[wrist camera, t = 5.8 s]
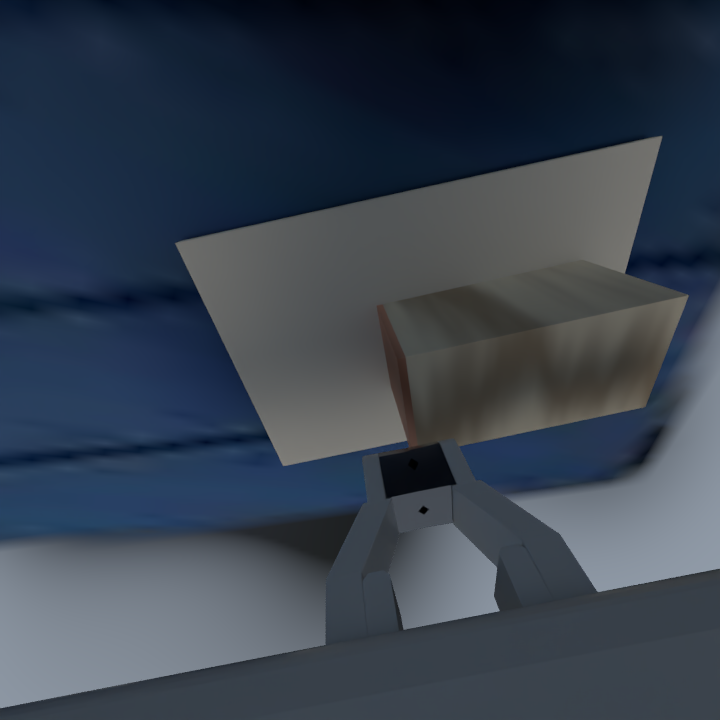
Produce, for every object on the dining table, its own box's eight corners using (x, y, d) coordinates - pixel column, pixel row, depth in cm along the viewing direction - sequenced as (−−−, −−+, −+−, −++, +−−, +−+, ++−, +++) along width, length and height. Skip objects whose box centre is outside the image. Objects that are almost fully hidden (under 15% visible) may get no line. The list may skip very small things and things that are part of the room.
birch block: (396, 358, 10) (688, 295, 10) (376, 305, 15) (582, 259, 15) (412, 456, 13) (645, 406, 13) (391, 387, 17) (565, 349, 17)
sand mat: (180, 241, 13) (174, 243, 13) (651, 137, 13) (662, 136, 12) (284, 459, 20) (283, 466, 20) (583, 397, 20) (589, 402, 20)
